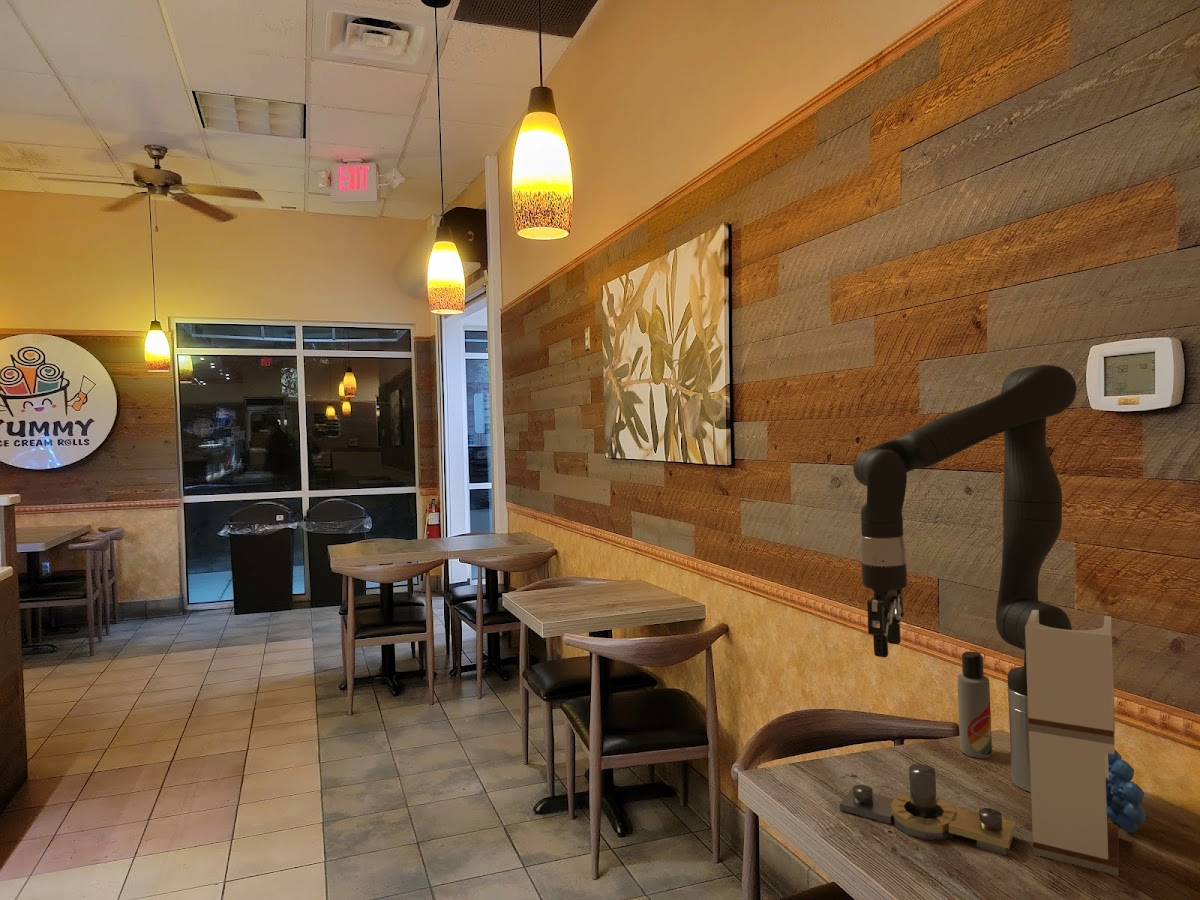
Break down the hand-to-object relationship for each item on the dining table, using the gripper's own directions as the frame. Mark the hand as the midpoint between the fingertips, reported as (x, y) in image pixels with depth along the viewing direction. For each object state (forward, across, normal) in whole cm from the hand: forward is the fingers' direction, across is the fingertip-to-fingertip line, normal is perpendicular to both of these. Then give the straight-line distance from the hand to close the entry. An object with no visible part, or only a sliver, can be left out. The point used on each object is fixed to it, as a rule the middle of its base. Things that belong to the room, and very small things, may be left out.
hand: (887, 649), depth 134 cm
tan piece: (+26, -9, -7) cm, 28 cm away
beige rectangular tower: (+26, -4, -28) cm, 39 cm away
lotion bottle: (+26, +23, -10) cm, 36 cm away
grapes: (+26, +6, -32) cm, 42 cm away
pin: (+26, -9, -7) cm, 28 cm away
